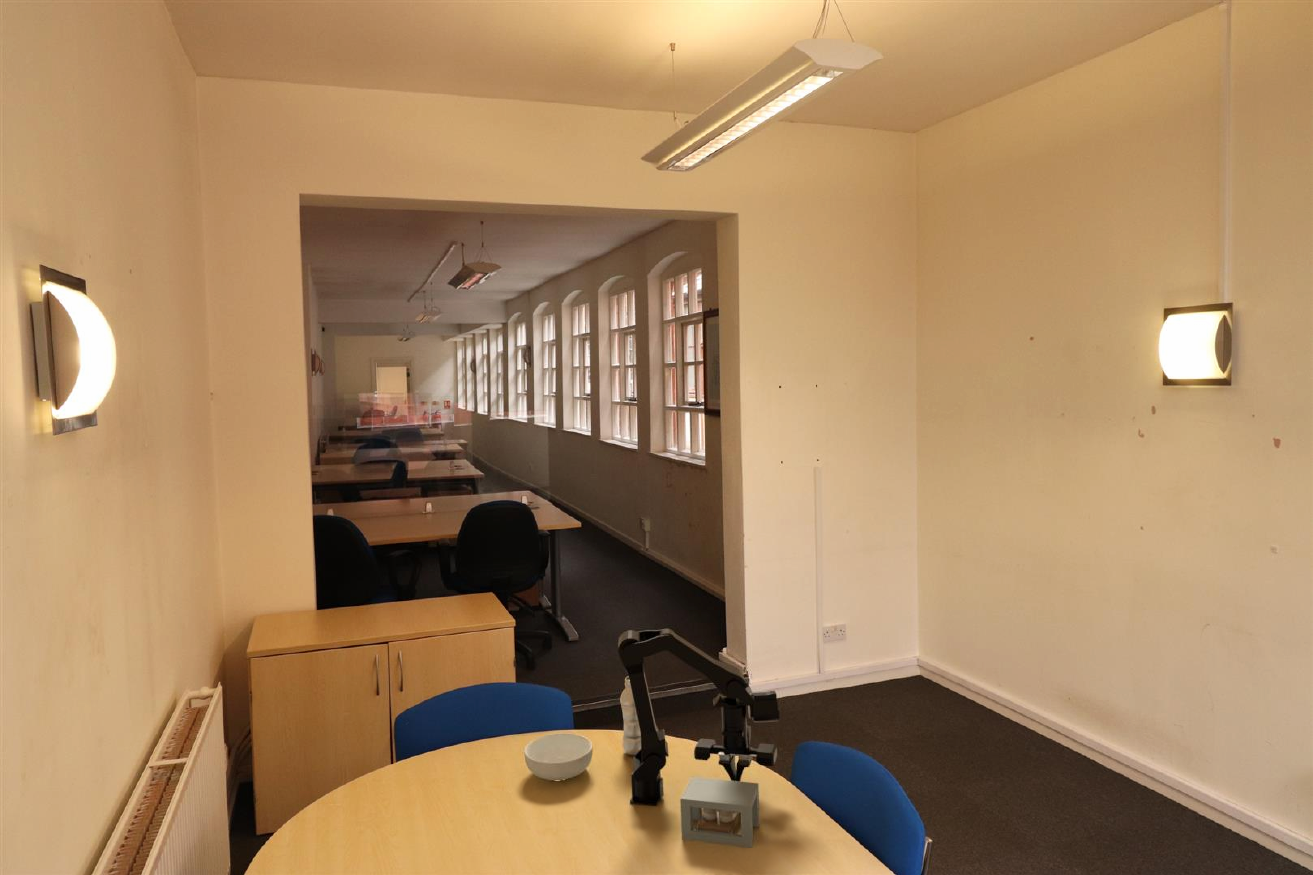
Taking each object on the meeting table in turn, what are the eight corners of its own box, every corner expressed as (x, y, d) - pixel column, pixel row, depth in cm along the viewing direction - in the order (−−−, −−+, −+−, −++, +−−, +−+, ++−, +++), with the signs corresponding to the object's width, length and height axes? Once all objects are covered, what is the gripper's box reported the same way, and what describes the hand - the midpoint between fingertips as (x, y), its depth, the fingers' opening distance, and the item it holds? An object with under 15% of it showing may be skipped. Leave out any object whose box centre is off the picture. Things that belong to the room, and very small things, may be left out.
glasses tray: (721, 793, 203) (720, 773, 203) (750, 797, 201) (749, 777, 200) (697, 833, 187) (696, 811, 186) (728, 838, 184) (727, 816, 184)
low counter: (681, 838, 185) (680, 798, 184) (693, 814, 194) (691, 776, 194) (751, 847, 181) (750, 806, 180) (759, 822, 190) (758, 783, 189)
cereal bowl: (540, 797, 205) (539, 768, 205) (516, 769, 220) (514, 742, 219) (605, 778, 214) (603, 750, 213) (577, 752, 228) (576, 726, 227)
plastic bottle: (645, 758, 223) (642, 683, 221) (619, 757, 224) (616, 682, 222) (650, 747, 229) (647, 674, 227) (625, 746, 231) (622, 673, 229)
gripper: (779, 711, 207) (781, 774, 208) (703, 706, 212) (705, 767, 214) (772, 731, 196) (774, 797, 198) (692, 725, 201) (695, 789, 203)
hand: (736, 786), depth 203 cm, fingers closed
